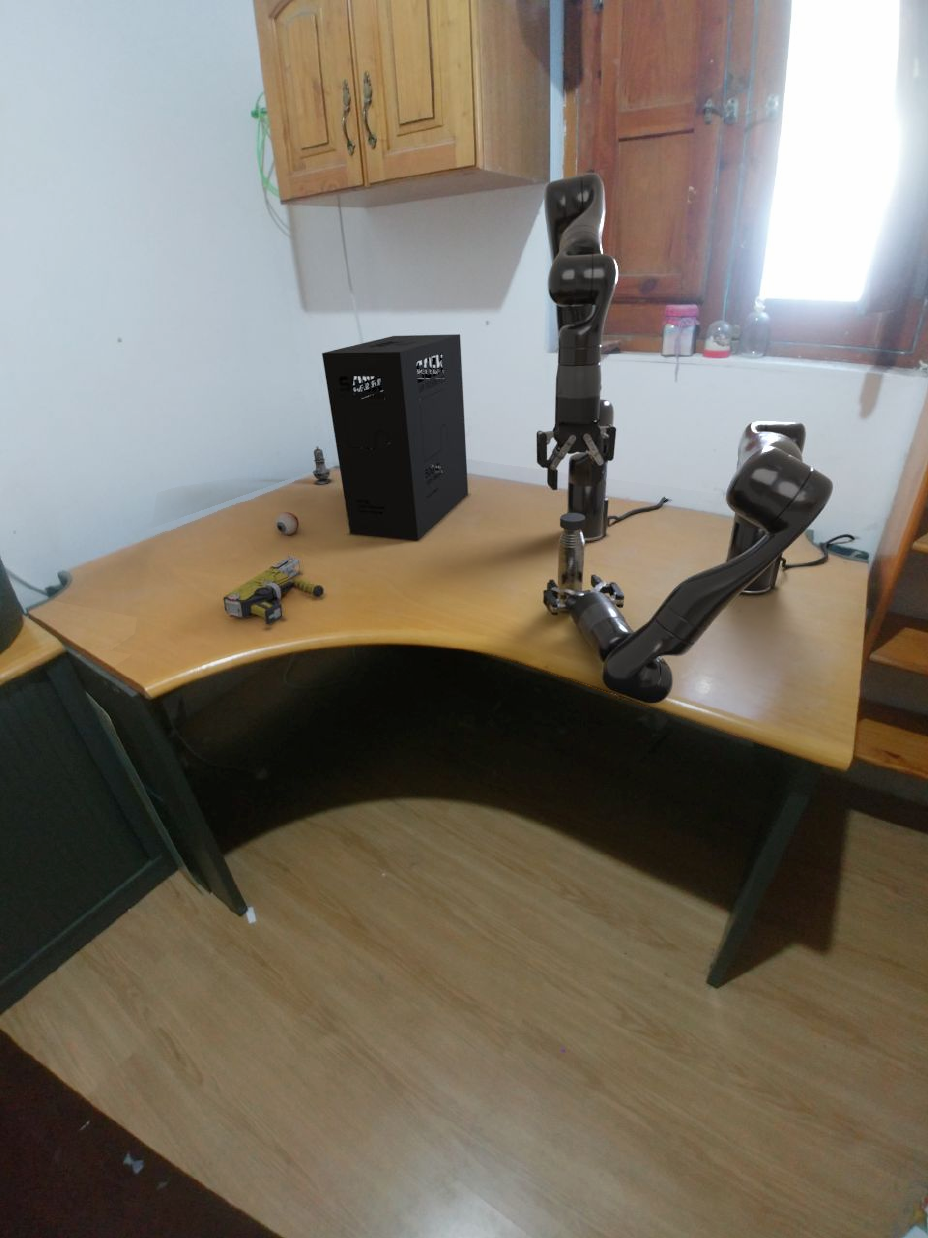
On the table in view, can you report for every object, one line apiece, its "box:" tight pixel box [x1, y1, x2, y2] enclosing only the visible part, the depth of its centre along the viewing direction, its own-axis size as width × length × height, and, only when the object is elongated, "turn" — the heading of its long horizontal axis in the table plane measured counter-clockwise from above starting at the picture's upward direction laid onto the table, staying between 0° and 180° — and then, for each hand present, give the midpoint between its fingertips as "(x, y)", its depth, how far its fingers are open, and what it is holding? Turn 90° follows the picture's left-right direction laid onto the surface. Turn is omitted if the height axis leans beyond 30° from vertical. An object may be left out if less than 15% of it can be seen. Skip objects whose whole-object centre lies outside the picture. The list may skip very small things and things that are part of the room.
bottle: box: [557, 529, 586, 612], centre depth 118 cm, size 5×5×19 cm
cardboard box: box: [321, 333, 469, 541], centre depth 164 cm, size 38×20×45 cm, turn 159°
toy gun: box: [222, 556, 324, 626], centre depth 131 cm, size 5×24×15 cm
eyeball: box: [275, 511, 300, 536], centre depth 163 cm, size 6×6×6 cm
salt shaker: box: [312, 446, 332, 485], centre depth 203 cm, size 6×6×12 cm
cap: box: [559, 512, 585, 530], centre depth 114 cm, size 5×5×2 cm
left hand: (574, 486), depth 110 cm, fingers open, 7 cm apart
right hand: (571, 581), depth 119 cm, fingers open, 8 cm apart
